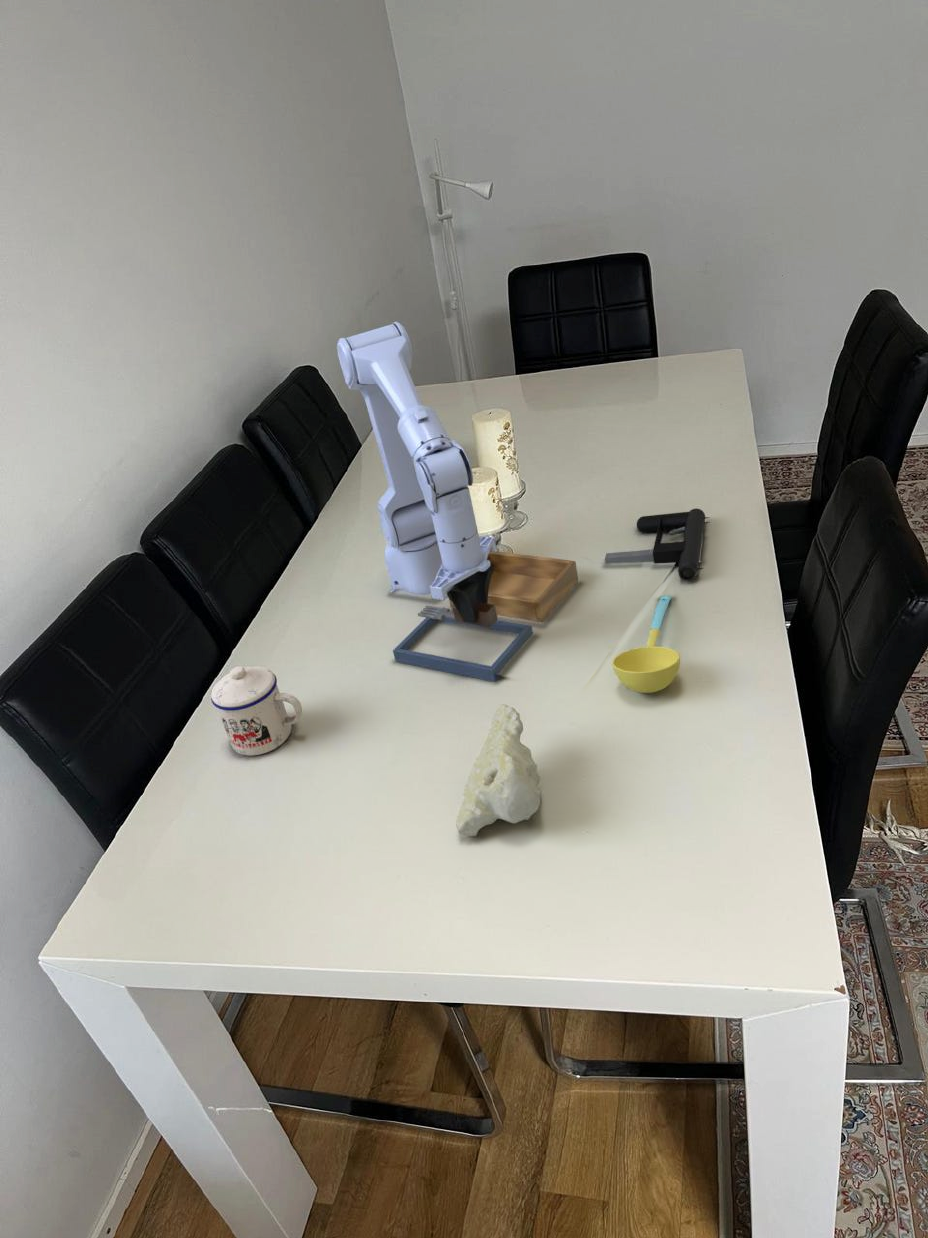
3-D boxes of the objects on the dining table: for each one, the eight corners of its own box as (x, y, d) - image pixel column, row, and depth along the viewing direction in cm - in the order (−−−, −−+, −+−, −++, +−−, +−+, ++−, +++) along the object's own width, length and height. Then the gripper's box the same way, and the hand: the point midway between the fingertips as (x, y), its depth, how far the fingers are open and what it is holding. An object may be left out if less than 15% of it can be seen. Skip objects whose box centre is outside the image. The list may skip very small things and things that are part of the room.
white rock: (517, 875, 110) (588, 761, 109) (464, 848, 107) (535, 731, 107) (483, 824, 124) (545, 723, 124) (435, 799, 122) (498, 696, 122)
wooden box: (451, 611, 157) (446, 589, 154) (490, 572, 165) (486, 550, 163) (542, 626, 148) (538, 602, 146) (579, 584, 156) (575, 560, 154)
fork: (498, 619, 141) (495, 603, 140) (489, 628, 139) (486, 613, 138) (427, 607, 148) (423, 592, 147) (418, 616, 146) (414, 601, 145)
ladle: (610, 705, 127) (605, 664, 126) (641, 631, 151) (637, 595, 149) (679, 704, 124) (674, 662, 122) (699, 628, 148) (696, 592, 146)
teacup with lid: (220, 758, 135) (192, 691, 129) (246, 716, 143) (220, 651, 137) (299, 758, 132) (274, 689, 126) (321, 715, 139) (299, 648, 133)
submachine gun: (598, 572, 153) (703, 564, 148) (616, 513, 169) (711, 503, 164) (602, 590, 155) (705, 583, 149) (619, 530, 171) (713, 521, 165)
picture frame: (395, 661, 147) (392, 650, 146) (436, 620, 155) (433, 609, 154) (495, 682, 138) (492, 670, 137) (533, 637, 146) (531, 625, 145)
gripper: (453, 562, 127) (472, 648, 135) (507, 511, 137) (523, 593, 144) (409, 556, 131) (430, 640, 138) (465, 507, 141) (482, 587, 148)
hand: (475, 616), depth 142 cm, fingers closed on fork, 2 cm apart
